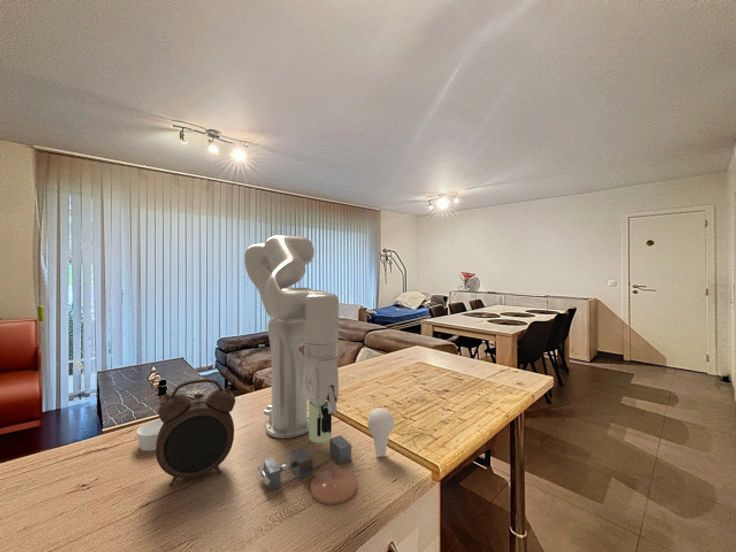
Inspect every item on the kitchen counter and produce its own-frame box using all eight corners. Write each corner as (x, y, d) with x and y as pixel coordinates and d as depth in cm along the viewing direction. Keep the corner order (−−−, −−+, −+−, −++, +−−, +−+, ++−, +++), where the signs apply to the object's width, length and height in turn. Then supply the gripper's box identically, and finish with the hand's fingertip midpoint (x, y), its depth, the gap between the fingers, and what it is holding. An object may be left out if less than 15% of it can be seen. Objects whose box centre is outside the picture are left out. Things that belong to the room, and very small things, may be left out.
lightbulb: (392, 465, 69) (392, 416, 69) (364, 462, 70) (364, 413, 70) (395, 450, 75) (395, 404, 75) (370, 447, 76) (370, 402, 76)
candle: (325, 429, 74) (325, 394, 73) (335, 439, 69) (335, 402, 69) (305, 434, 71) (305, 399, 71) (314, 445, 67) (314, 407, 66)
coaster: (301, 493, 60) (301, 488, 60) (329, 468, 68) (329, 463, 68) (340, 511, 56) (340, 505, 56) (365, 482, 63) (365, 477, 63)
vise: (257, 477, 65) (257, 460, 65) (339, 448, 75) (339, 434, 75) (265, 494, 60) (265, 476, 60) (352, 461, 70) (352, 445, 70)
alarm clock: (153, 498, 59) (153, 392, 59) (158, 476, 65) (158, 380, 65) (236, 475, 66) (236, 380, 65) (234, 457, 72) (234, 370, 72)
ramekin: (144, 457, 72) (144, 439, 72) (131, 445, 77) (131, 427, 77) (185, 441, 79) (185, 424, 79) (170, 430, 85) (170, 414, 84)
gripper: (291, 342, 74) (291, 419, 75) (321, 361, 61) (320, 454, 61) (320, 339, 79) (319, 411, 79) (354, 355, 65) (353, 442, 65)
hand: (320, 429), depth 70 cm, fingers closed on candle, 3 cm apart
